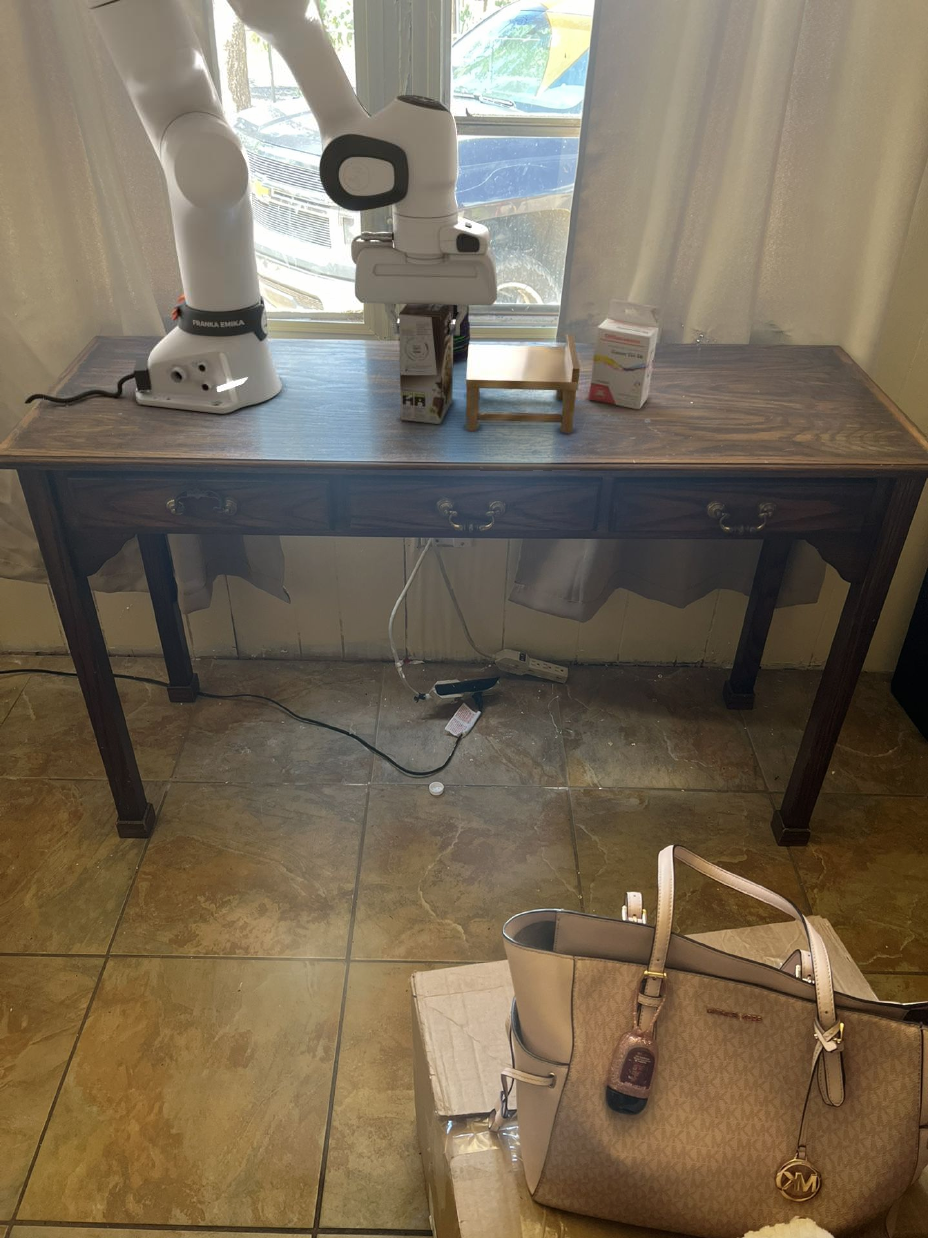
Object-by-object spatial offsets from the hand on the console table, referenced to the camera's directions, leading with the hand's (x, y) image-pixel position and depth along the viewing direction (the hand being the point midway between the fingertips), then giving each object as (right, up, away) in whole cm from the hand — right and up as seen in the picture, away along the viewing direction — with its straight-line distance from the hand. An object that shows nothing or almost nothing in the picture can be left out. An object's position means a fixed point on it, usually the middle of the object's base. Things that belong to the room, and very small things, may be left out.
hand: (427, 333), depth 129 cm
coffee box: (0, -10, +7) cm, 12 cm away
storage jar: (+2, +5, +26) cm, 27 cm away
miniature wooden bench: (+14, -10, +7) cm, 18 cm away
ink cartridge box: (+30, -7, +12) cm, 33 cm away
